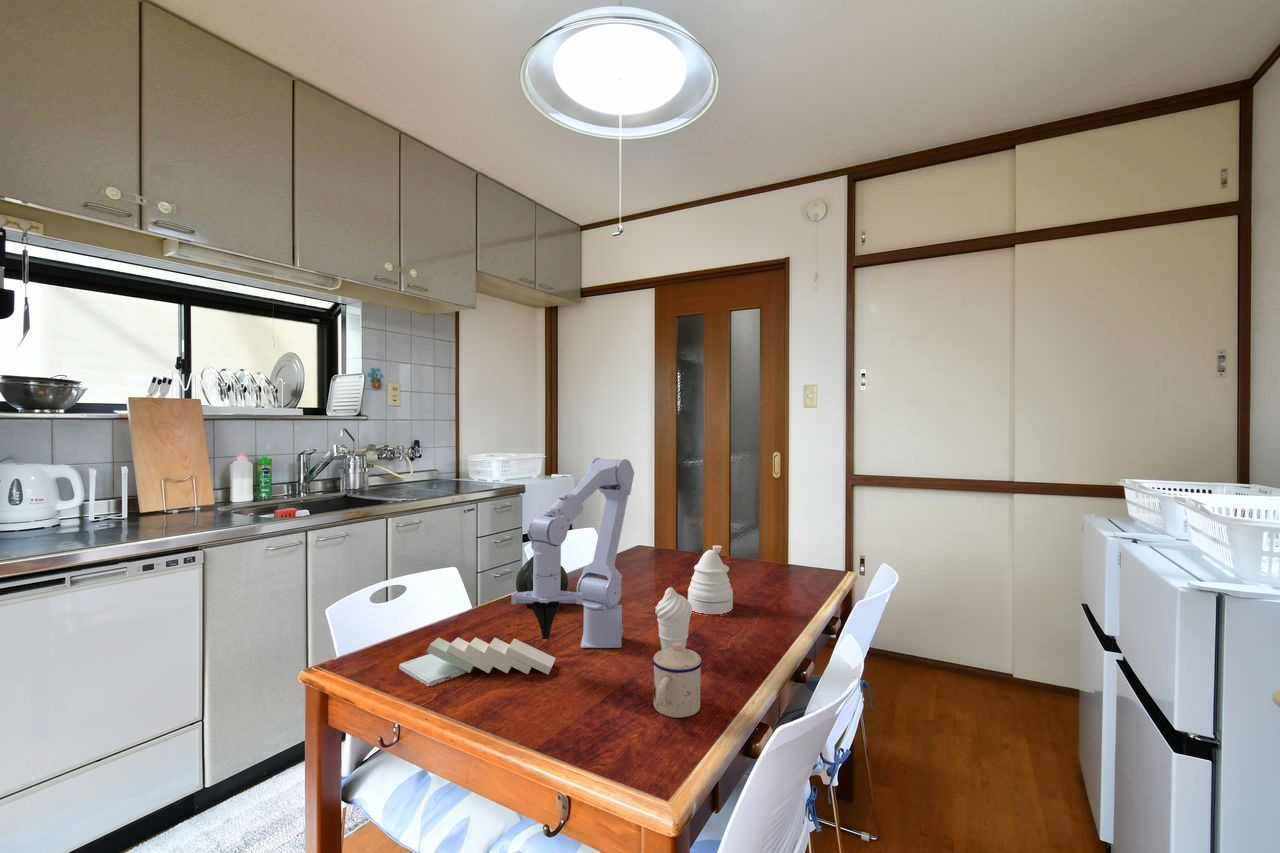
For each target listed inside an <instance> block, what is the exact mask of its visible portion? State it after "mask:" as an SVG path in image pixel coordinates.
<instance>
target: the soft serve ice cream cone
mask: <svg viewBox="0 0 1280 853" xmlns="http://www.w3.org/2000/svg"><path fill="white" fill-rule="evenodd" d="M654 613H655V615H656V616H657V623H658V637H659V642H660V647H661V650H663V649H666V648H669V647H672V644H673V643H674V642H680V643H682V644H683V647H684V648H686V646H687V641H688V640H687V639H688V638H689V627H690V626H689V625H690V622H691V619H690V618H691V616H692V613H693V612H692V606H691V604H690V602H689V601H688V598H686V597H685V596H683V595H680V594H679V593H678V592H677V591H676V590H675V589H674V588H673V587H672V586H670V587H668V588H667V589H666V590H665V591H664V595H663V598H662V599H661V600H659V601H658V603H657V605H656V606H655V611H654Z"/></svg>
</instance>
